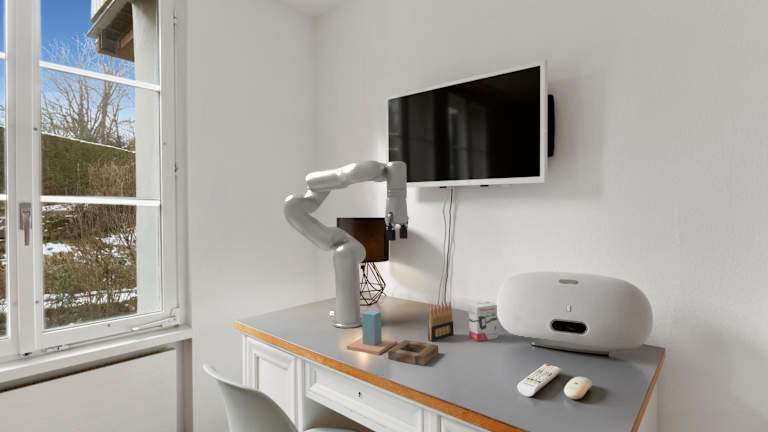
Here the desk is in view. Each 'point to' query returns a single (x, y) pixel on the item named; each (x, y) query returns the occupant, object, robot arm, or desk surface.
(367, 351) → the tile
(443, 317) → the ammunition clip
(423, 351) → the holder
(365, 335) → the teal block
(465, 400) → the desk surface
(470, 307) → the ink box
